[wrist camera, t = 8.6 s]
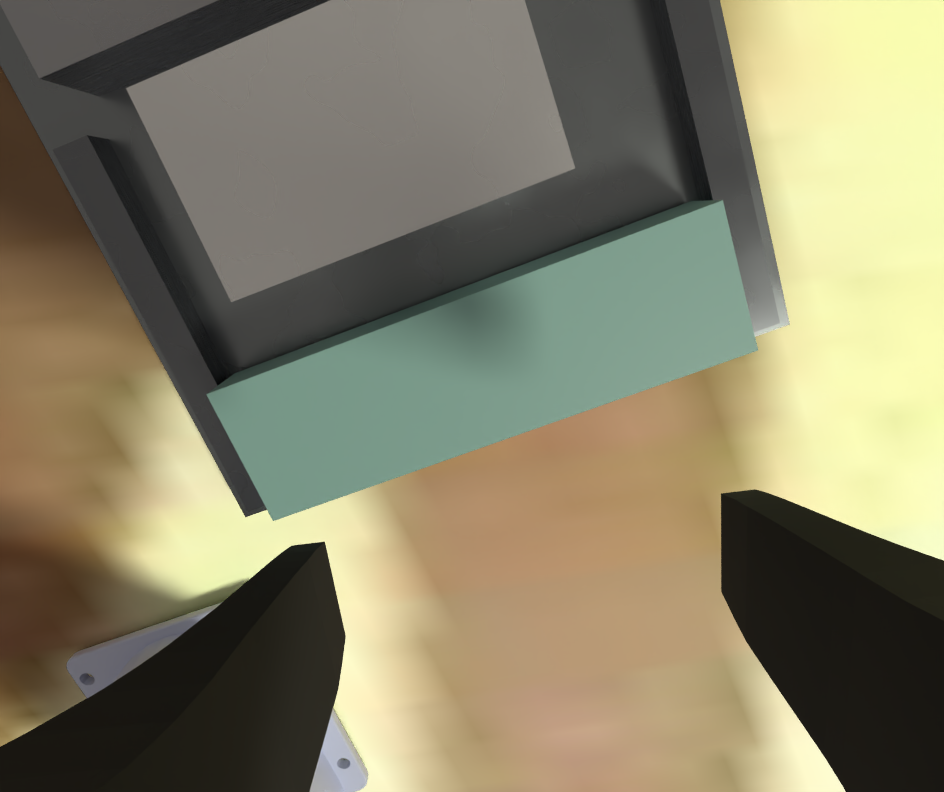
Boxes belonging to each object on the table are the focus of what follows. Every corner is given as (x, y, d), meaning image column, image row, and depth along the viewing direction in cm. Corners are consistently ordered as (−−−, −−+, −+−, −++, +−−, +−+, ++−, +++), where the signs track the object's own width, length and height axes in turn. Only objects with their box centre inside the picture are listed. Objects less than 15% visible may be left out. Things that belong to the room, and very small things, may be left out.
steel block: (536, 181, 17) (575, 168, 11) (305, 270, 18) (231, 302, 12) (487, 27, 16) (502, -74, 10) (242, 129, 16) (125, 88, 11)
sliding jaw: (725, 333, 18) (757, 350, 16) (292, 488, 19) (272, 521, 17) (692, 200, 17) (722, 200, 15) (234, 373, 18) (206, 394, 16)
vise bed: (773, 318, 19) (836, 341, 16) (255, 502, 21) (217, 557, 18) (634, -301, 15) (684, -444, 11) (-15, -5, 16) (-134, -57, 13)
